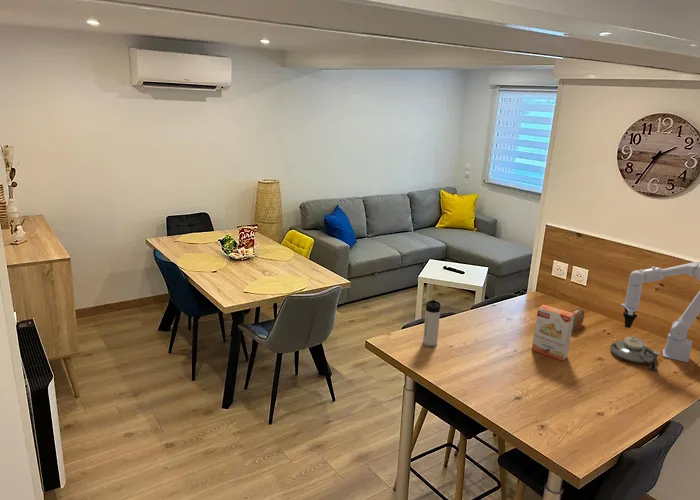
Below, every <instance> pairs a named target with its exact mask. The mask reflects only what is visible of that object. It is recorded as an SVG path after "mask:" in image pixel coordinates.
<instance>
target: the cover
mask: <svg viewBox="0 0 700 500" xmlns="http://www.w3.org/2000/svg"><path fill="white" fill-rule="evenodd" d="M623 341H624V346H625V347H626V348H628V349H631V350H634V351H642V350H644V346H646V342H645V341H644V339H642V338H638V337H635V336H626V337H624V340H623Z"/></svg>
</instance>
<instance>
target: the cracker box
mask: <svg viewBox="0 0 700 500" xmlns="http://www.w3.org/2000/svg"><path fill="white" fill-rule="evenodd" d="M574 316H575V314H574V313H572V312H571V311H566V310H564V309H560V308H556V307H553V306H550V305H546V304H541V305H540V306H539V307H538V309H537V314H536V320H535V327H534V331H533V339H532V347H531V351H533V352H534V353H535V352H536V353H539V354H540V355H544V356H547V357H550V358H552V359H556V360H559V361H560V362H561V361H562V362H564V361H565V360H566V359H567V357H568V354H569V350H570V343H571V337H572V331H573V330H572V327H573V322H574Z"/></svg>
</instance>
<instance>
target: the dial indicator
mask: <svg viewBox="0 0 700 500" xmlns="http://www.w3.org/2000/svg"><path fill="white" fill-rule="evenodd" d="M646 352H649V353H650V354H652V355H654V358H653V362H652V363H651V364H648V371H653V372H658V366H656V365H657V360H658V355H660V354H661V352H660V351H659V350H655V349H653V352H652V351H651V350H649V349H647V348H645V351H644V354H645V355H646Z"/></svg>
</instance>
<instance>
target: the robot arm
mask: <svg viewBox="0 0 700 500" xmlns="http://www.w3.org/2000/svg"><path fill="white" fill-rule="evenodd" d="M677 275H688V276H690V277H695V278H696V279H697V280H698V281H699V282H700V261H699V262H698V261H694V262H688V263H684V264H679V265H675V266H671V267H667V268H666V267H665V268H662V267H659V266H658V267H656V266H651V268H645V269H643V268H642V269H639V270H637V269H636V270H633V271H631V273H630V274H629V276H628V285H627V289H626V294H625V301H624V303H621V305H620V306H621V307H623V308H624V311H623V312H622V315H623V317H624V328H628V329H631V327H632V324H633V323H634V320H636V318H638V314H635V313H636V312H637V311H638V310H639V309H640V307H639V306H640V301H641V296H642V291H643V284H644V283H651V282H657V281H658V282H659V281H662V280H663V279H664V278H665V277H670V276H677ZM699 314H700V290H699V291H698V292H697V294H696V295H695V297H694V298H693V299H692V301H691V302H690V304H688V306H687V307H686V309H685V310H684V312H683V313H682V315H680V317H679V318H678V319H677V320H675V321H673V322H672V323H671V328H670V330H669V333H668V335H667V338H666V344H665V347H664V348H663V349H662V357H663V358H667V359H672V360H675V359H676V361H680V362H684V363H689V361H690V360H689V359H690V355H691V352H692V351H691V350H692V347H693V340H691V339H688V337H687V336H688V331H689V330H690V328H691V326H692V324H693V323H694V321H695V320H696V318H697V317H698V316H699Z"/></svg>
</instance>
